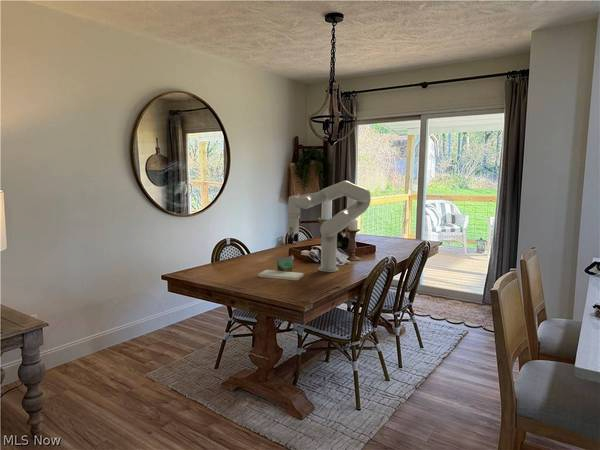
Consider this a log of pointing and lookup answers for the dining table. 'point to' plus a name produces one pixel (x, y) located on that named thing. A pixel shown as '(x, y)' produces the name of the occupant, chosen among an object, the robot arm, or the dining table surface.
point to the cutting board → (281, 275)
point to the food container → (285, 263)
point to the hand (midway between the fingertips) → (293, 242)
